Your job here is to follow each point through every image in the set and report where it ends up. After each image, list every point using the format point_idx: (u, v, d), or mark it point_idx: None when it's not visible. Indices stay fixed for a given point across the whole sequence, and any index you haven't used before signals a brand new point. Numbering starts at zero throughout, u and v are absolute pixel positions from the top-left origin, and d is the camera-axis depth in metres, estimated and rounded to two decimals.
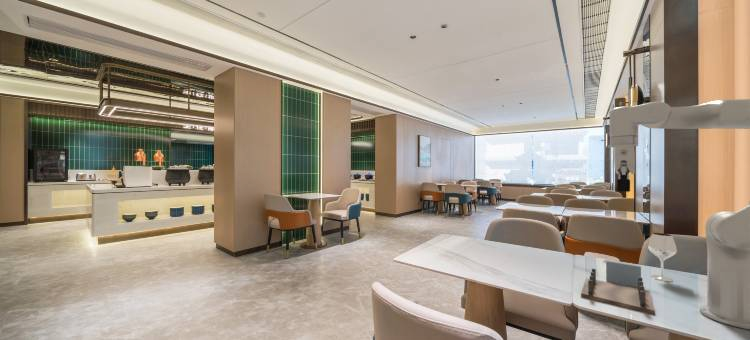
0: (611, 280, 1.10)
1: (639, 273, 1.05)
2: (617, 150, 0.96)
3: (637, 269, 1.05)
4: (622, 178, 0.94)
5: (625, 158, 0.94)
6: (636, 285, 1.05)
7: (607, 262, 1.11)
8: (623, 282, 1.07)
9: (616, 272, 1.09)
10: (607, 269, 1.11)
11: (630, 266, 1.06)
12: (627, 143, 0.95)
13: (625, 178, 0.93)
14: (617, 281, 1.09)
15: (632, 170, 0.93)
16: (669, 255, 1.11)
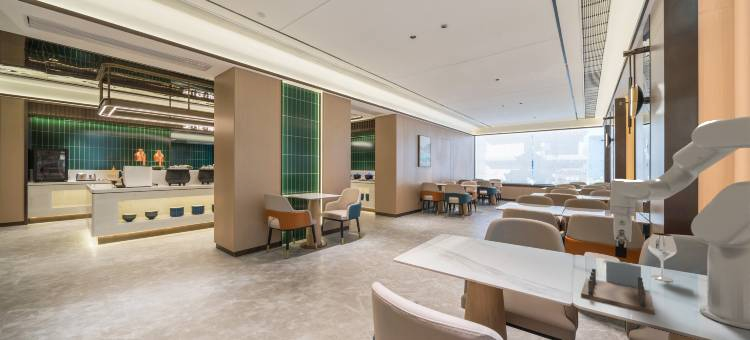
0: (611, 280, 1.10)
1: (639, 273, 1.05)
2: (616, 219, 1.07)
3: (637, 269, 1.05)
4: (620, 246, 1.05)
5: (623, 228, 1.05)
6: (636, 285, 1.05)
7: (607, 262, 1.11)
8: (623, 282, 1.07)
9: (616, 272, 1.09)
10: (607, 269, 1.11)
11: (630, 266, 1.06)
12: (625, 214, 1.06)
13: (622, 246, 1.04)
14: (617, 281, 1.09)
15: (629, 239, 1.04)
16: (669, 255, 1.11)
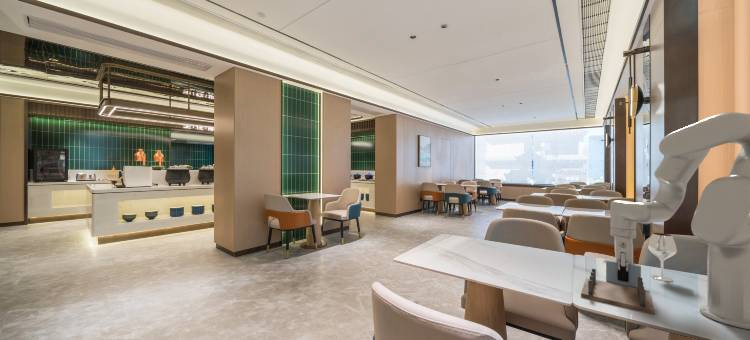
0: (611, 280, 1.10)
1: (639, 273, 1.05)
2: (617, 241, 1.06)
3: (637, 269, 1.05)
4: (621, 270, 1.07)
5: (624, 250, 1.05)
6: (636, 285, 1.05)
7: (607, 262, 1.11)
8: (623, 281, 1.07)
9: (616, 271, 1.09)
10: (607, 269, 1.11)
11: (630, 266, 1.06)
12: (626, 236, 1.05)
13: (624, 271, 1.06)
14: (617, 281, 1.09)
15: (631, 262, 1.03)
16: (669, 255, 1.11)
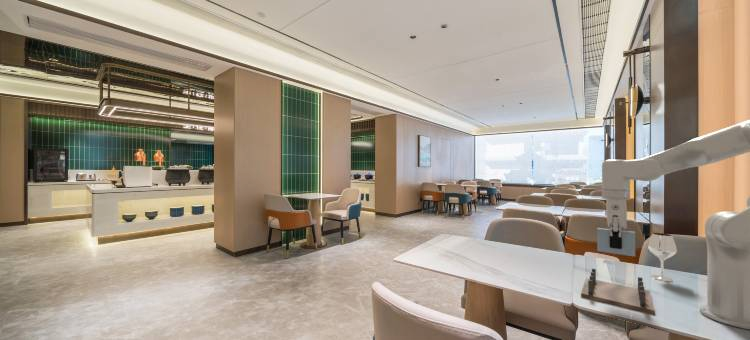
0: (602, 249, 0.99)
1: (633, 240, 0.94)
2: (609, 204, 0.96)
3: (631, 235, 0.94)
4: (614, 236, 0.96)
5: (617, 213, 0.94)
6: (630, 253, 0.95)
7: (598, 230, 1.00)
8: (616, 250, 0.97)
9: (608, 240, 0.98)
10: (598, 237, 1.00)
11: (623, 233, 0.96)
12: (619, 198, 0.95)
13: (617, 237, 0.96)
14: (609, 250, 0.98)
15: (624, 226, 0.93)
16: (669, 255, 1.11)
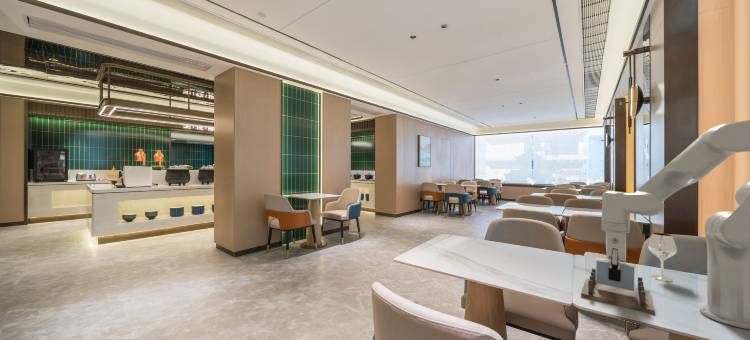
0: (601, 282, 0.99)
1: (632, 274, 0.94)
2: (608, 237, 0.96)
3: (630, 270, 0.94)
4: (613, 268, 0.96)
5: (616, 246, 0.94)
6: (629, 287, 0.95)
7: (597, 262, 1.00)
8: (615, 284, 0.97)
9: (607, 272, 0.98)
10: (597, 269, 1.00)
11: (622, 266, 0.96)
12: (618, 231, 0.95)
13: (616, 270, 0.96)
14: (608, 283, 0.98)
15: (623, 259, 0.93)
16: (669, 255, 1.11)
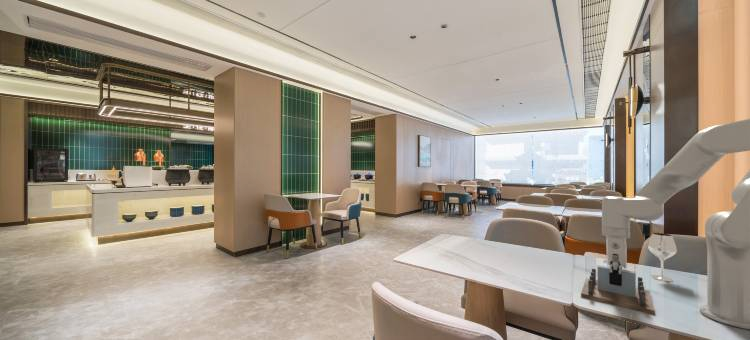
0: (603, 288, 0.99)
1: (633, 280, 0.94)
2: (609, 242, 0.96)
3: (631, 276, 0.94)
4: (614, 272, 0.93)
5: (617, 252, 0.94)
6: (630, 294, 0.94)
7: (598, 268, 1.00)
8: (616, 290, 0.97)
9: (608, 278, 0.98)
10: (598, 275, 1.00)
11: (624, 272, 0.96)
12: (619, 236, 0.95)
13: (617, 273, 0.93)
14: (609, 289, 0.98)
15: (624, 265, 0.93)
16: (669, 255, 1.11)
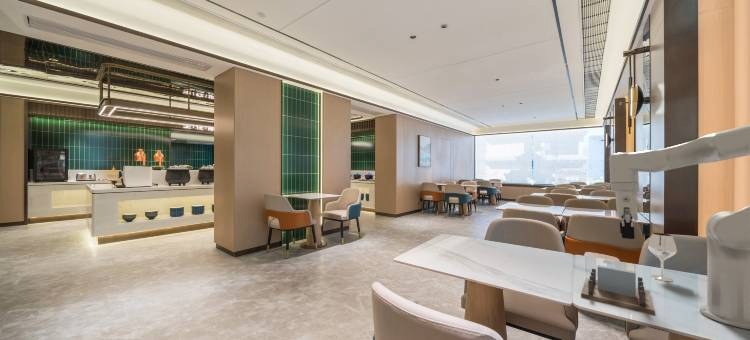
0: (603, 288, 0.99)
1: (633, 280, 0.94)
2: (619, 196, 0.97)
3: (631, 276, 0.94)
4: (626, 225, 0.94)
5: (628, 205, 0.95)
6: (630, 294, 0.94)
7: (598, 268, 1.00)
8: (616, 290, 0.97)
9: (608, 278, 0.98)
10: (598, 275, 1.00)
11: (624, 272, 0.96)
12: (629, 190, 0.96)
13: (629, 226, 0.94)
14: (609, 289, 0.98)
15: (635, 217, 0.94)
16: (669, 255, 1.11)
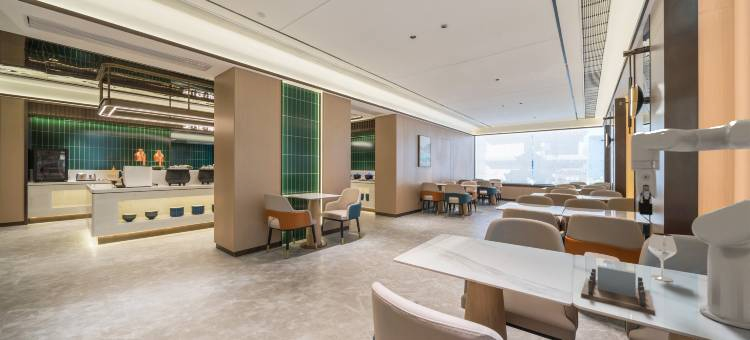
0: (603, 288, 0.99)
1: (633, 280, 0.94)
2: (639, 174, 1.00)
3: (631, 276, 0.94)
4: (645, 202, 0.97)
5: (647, 183, 0.98)
6: (630, 294, 0.94)
7: (598, 268, 1.00)
8: (616, 290, 0.97)
9: (608, 278, 0.98)
10: (598, 275, 1.00)
11: (624, 272, 0.96)
12: (649, 168, 0.99)
13: (648, 202, 0.97)
14: (609, 289, 0.98)
15: (654, 194, 0.97)
16: (669, 255, 1.11)
